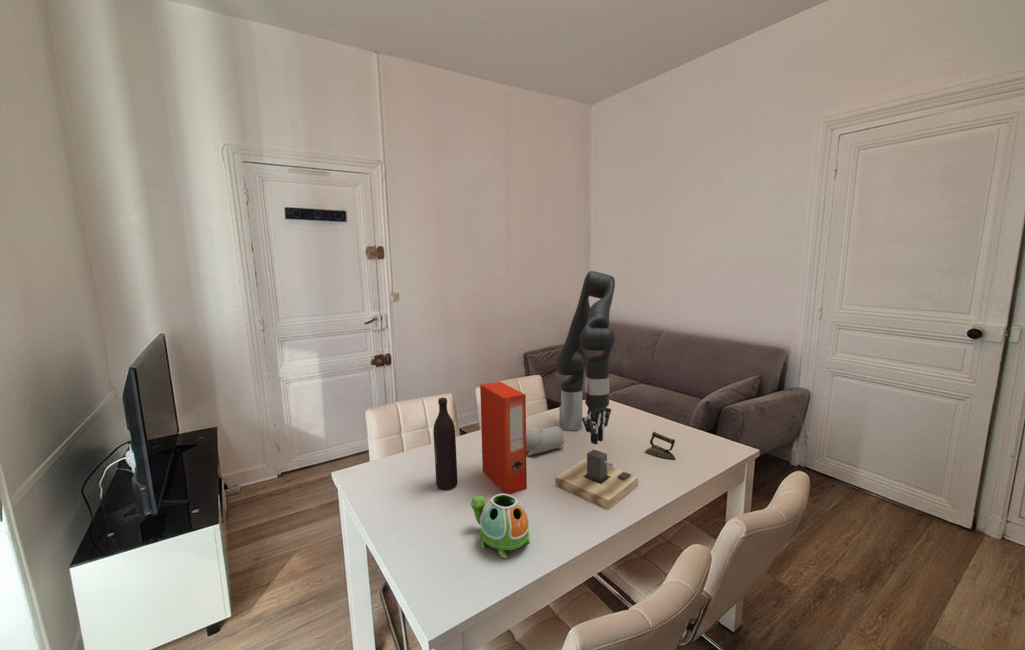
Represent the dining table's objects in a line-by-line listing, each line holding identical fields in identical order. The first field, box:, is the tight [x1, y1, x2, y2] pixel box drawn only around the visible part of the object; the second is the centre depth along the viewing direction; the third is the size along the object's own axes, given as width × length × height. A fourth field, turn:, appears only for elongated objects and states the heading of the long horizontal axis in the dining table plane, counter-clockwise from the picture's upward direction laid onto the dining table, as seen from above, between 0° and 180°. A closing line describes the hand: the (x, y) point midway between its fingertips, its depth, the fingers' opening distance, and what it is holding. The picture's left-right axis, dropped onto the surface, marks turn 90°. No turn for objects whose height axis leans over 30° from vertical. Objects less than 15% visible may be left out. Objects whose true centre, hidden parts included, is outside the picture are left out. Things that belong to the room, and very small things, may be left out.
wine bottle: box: [432, 397, 458, 491], centre depth 135 cm, size 7×7×30 cm
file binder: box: [479, 381, 528, 495], centre depth 137 cm, size 8×17×32 cm, turn 29°
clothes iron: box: [644, 431, 676, 461], centre depth 154 cm, size 7×11×10 cm, turn 39°
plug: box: [586, 449, 614, 484], centre depth 133 cm, size 8×4×10 cm, turn 46°
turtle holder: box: [470, 493, 531, 559], centre depth 109 cm, size 12×18×12 cm
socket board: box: [554, 457, 639, 510], centre depth 135 cm, size 20×18×4 cm
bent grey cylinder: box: [526, 425, 565, 457], centre depth 162 cm, size 18×10×20 cm
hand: (596, 441), depth 133 cm, fingers open, 2 cm apart
